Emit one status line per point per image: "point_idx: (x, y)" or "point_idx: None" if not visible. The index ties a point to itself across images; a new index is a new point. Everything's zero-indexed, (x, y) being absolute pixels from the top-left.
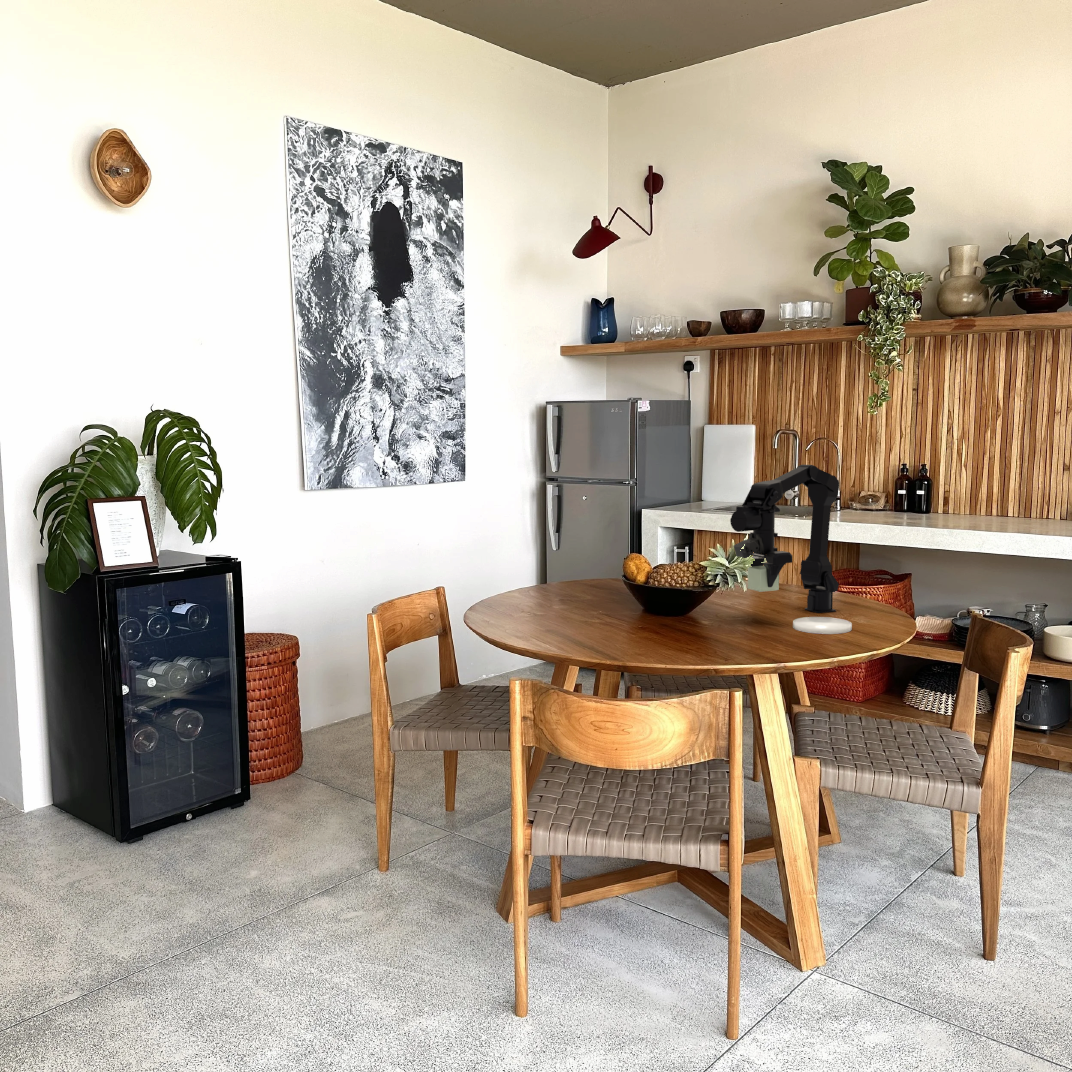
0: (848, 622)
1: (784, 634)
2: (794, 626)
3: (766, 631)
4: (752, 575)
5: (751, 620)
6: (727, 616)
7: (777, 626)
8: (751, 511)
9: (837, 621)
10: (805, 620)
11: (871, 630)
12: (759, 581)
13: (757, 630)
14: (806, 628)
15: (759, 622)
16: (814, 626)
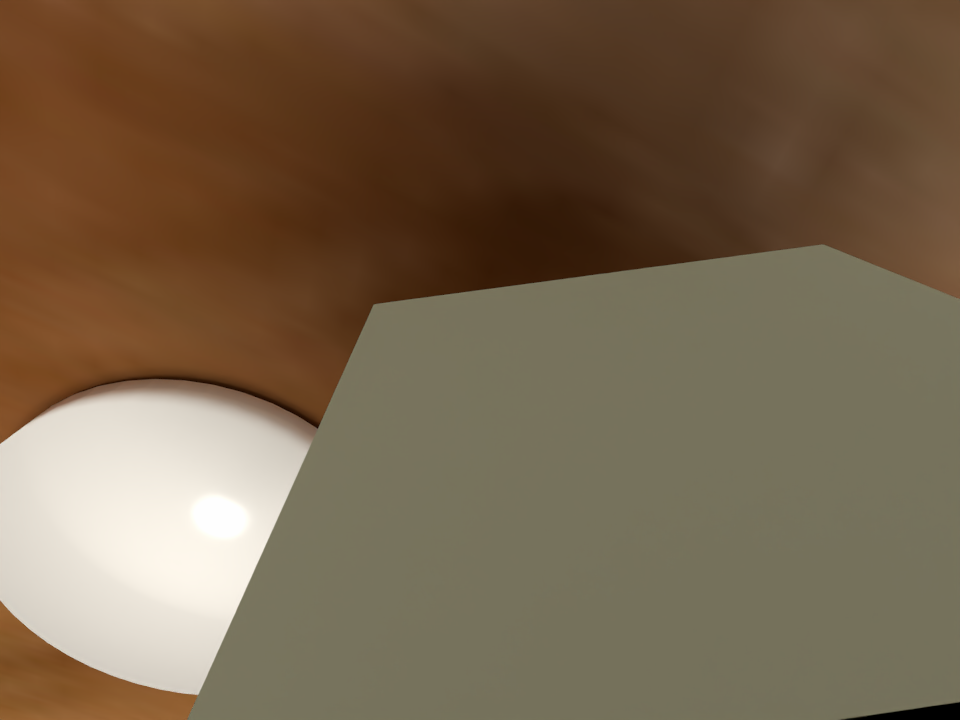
0: (171, 682)
1: (4, 220)
2: (189, 391)
3: (142, 121)
4: (833, 442)
5: (644, 224)
6: (927, 82)
7: (342, 315)
8: None
9: (209, 651)
10: (274, 514)
11: (141, 706)
12: (365, 410)
13: (196, 51)
14: (36, 418)
15: (539, 251)
16: (34, 478)
